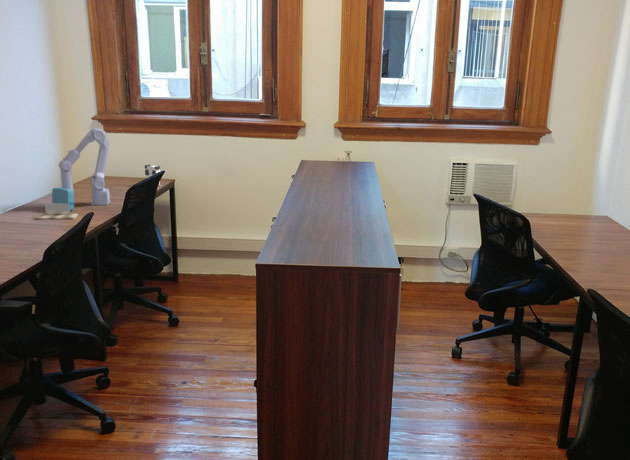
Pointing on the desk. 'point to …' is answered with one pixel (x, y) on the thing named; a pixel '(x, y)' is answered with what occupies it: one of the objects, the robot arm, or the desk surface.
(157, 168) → the panda figurine
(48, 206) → the bookend
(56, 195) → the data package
